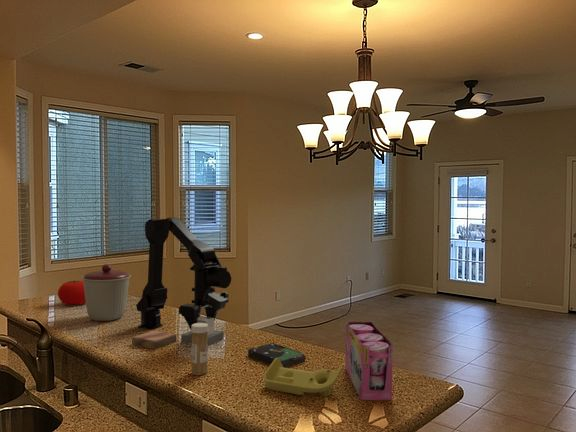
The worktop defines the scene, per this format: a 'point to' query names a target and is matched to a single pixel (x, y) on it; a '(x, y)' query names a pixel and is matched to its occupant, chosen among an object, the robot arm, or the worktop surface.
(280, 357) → the disk drive
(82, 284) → the tomato
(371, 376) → the gum box
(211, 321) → the two-plate housing
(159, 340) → the brown square tray
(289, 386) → the plastic component
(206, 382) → the worktop surface
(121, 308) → the canister
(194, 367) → the sprinkles bottle
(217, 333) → the slate stand
